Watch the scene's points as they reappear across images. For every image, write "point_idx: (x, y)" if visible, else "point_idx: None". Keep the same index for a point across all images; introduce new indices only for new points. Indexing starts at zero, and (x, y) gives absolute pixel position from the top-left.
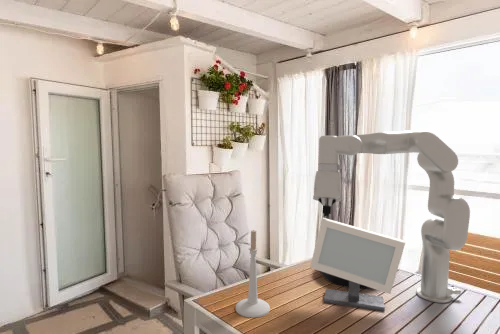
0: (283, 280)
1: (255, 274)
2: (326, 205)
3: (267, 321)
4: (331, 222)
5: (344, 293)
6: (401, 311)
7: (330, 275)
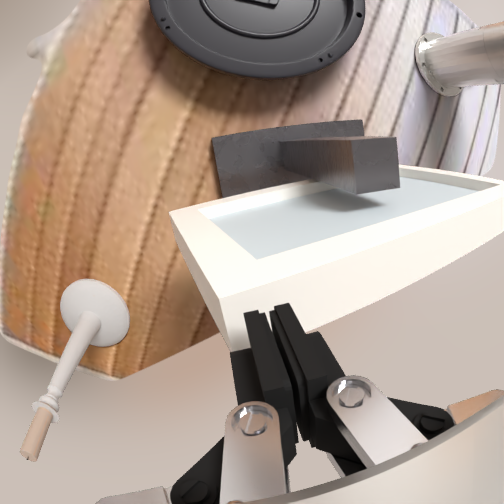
0: (76, 133)
1: (76, 366)
2: (290, 412)
3: (146, 340)
4: (307, 328)
5: (269, 143)
6: None
7: (209, 68)
